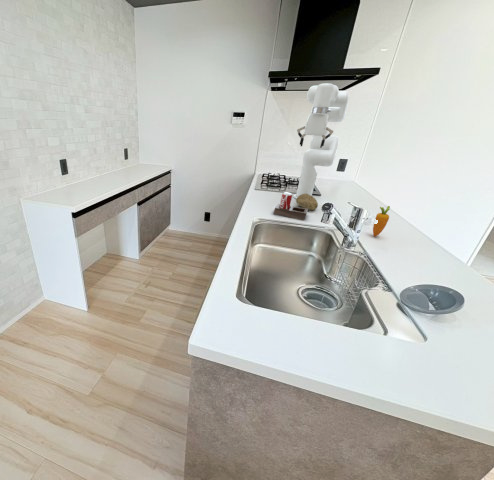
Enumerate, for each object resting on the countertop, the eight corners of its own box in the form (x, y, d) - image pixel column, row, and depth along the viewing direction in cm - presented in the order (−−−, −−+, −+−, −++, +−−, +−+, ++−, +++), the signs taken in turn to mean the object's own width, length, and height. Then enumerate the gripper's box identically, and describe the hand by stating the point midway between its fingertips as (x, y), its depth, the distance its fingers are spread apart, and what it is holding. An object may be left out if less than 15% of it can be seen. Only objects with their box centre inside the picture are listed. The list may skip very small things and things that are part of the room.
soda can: (288, 215, 144) (293, 194, 139) (279, 214, 145) (283, 194, 140) (287, 212, 149) (291, 192, 143) (277, 211, 150) (281, 191, 144)
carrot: (371, 238, 120) (383, 207, 113) (366, 233, 124) (378, 203, 117) (383, 239, 119) (396, 208, 112) (378, 235, 123) (390, 204, 116)
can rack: (276, 210, 152) (278, 203, 151) (306, 215, 145) (308, 208, 143) (273, 214, 145) (274, 207, 144) (304, 220, 138) (306, 213, 136)
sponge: (296, 202, 170) (291, 204, 153) (301, 191, 167) (297, 191, 150) (316, 210, 164) (313, 213, 148) (322, 198, 161) (320, 200, 145)
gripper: (338, 112, 132) (328, 147, 139) (301, 111, 139) (294, 145, 146) (338, 111, 126) (328, 148, 133) (300, 111, 133) (293, 146, 140)
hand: (310, 146), depth 140 cm, fingers open, 9 cm apart
